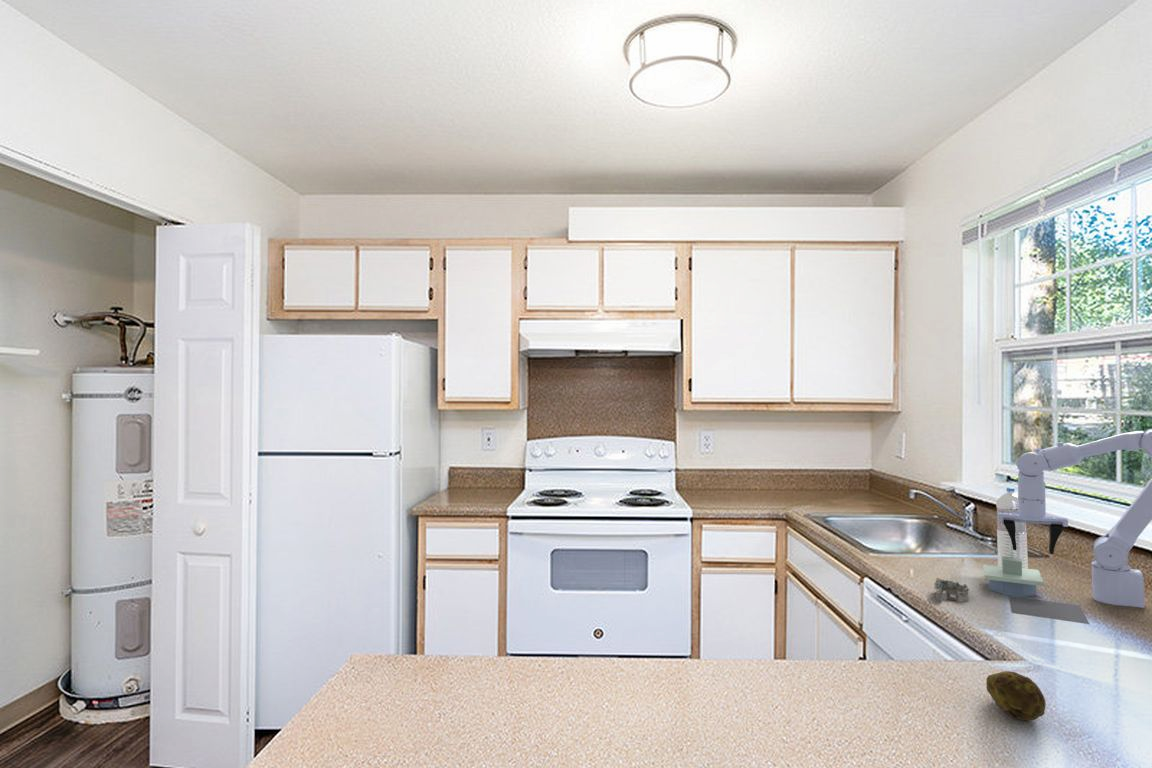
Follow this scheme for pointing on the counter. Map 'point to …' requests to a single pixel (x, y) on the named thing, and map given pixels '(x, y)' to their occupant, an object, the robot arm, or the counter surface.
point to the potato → (1016, 695)
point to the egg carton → (950, 591)
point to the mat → (1047, 609)
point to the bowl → (1012, 588)
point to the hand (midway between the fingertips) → (1032, 551)
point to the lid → (1012, 572)
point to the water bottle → (1005, 548)
